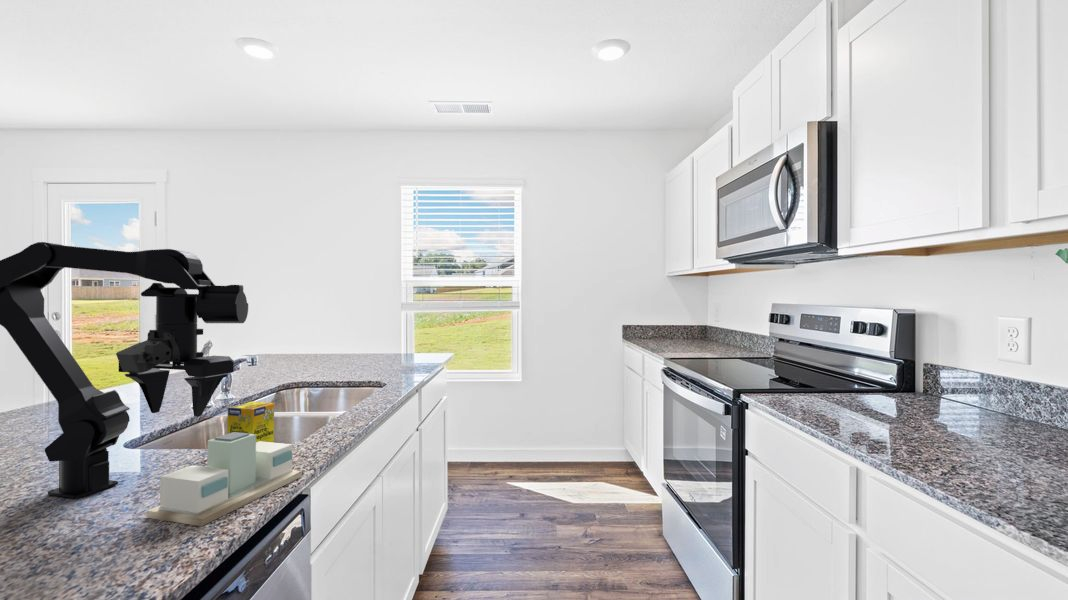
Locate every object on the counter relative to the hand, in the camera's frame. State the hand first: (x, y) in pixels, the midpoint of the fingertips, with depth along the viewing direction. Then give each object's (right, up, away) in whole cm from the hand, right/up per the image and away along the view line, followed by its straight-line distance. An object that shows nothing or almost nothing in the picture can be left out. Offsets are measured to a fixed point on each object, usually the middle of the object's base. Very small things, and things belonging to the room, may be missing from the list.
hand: (176, 414), depth 84 cm
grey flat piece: (+12, -12, -4) cm, 18 cm away
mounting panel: (+12, -12, -4) cm, 18 cm away
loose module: (+12, -11, -4) cm, 17 cm away
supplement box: (+5, -12, +13) cm, 19 cm away
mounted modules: (+12, -11, -4) cm, 17 cm away
